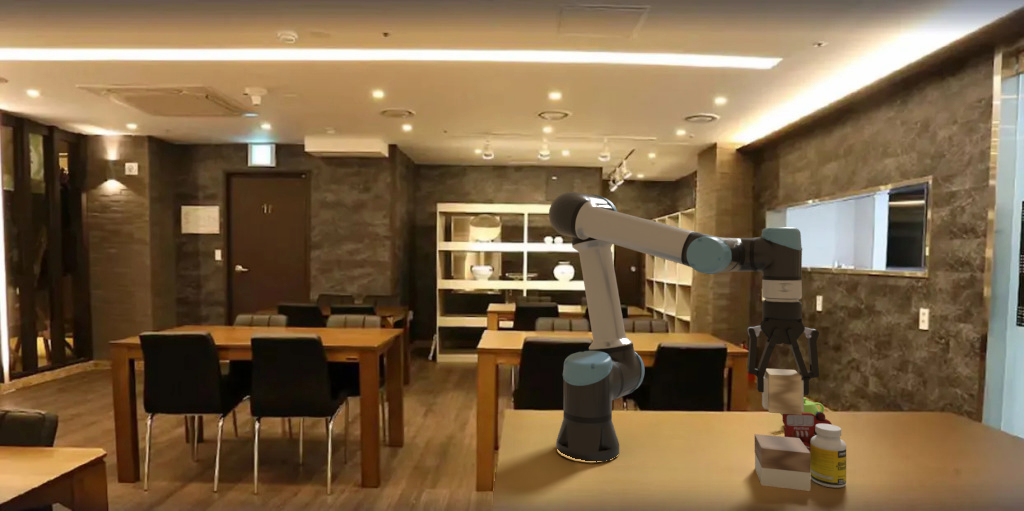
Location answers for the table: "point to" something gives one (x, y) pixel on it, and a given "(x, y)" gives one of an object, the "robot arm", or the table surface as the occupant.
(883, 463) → the table surface
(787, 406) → the oak block
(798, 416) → the toy fire truck
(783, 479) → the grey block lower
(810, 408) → the teapot
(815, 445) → the pill bottle
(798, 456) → the walnut block upper
